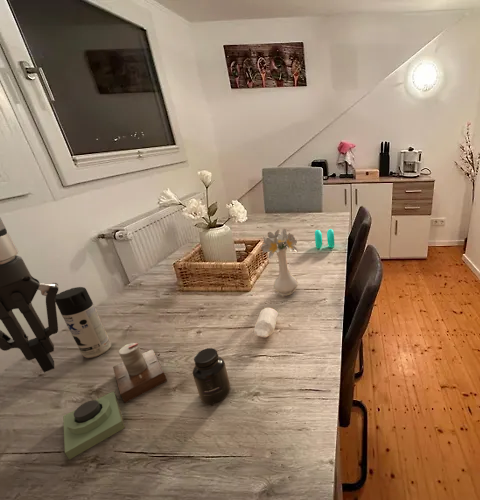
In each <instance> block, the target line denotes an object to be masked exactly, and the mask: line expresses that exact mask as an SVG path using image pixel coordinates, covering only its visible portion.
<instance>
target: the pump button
mask: <svg viewBox="0 0 480 500" xmlns="http://www.w3.org/2000/svg"><path fill="white" fill-rule="evenodd" d="M100 411H101V406H100V405H99V403H98V401H96V399H92V400H88V401H86V402H84V403H82V404H81V405H79V406H78V407H77V408H76V409H75V412H74V417H75V419H76V420H77V422H79V423H83V422H87V421H88V420H90V419H92V418H94V417H95V416H96V415H97V414H98V413H99V412H100Z"/></svg>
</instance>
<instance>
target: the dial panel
mask: <svg viewBox="0 0 480 500" xmlns="http://www.w3.org/2000/svg"><path fill="white" fill-rule="evenodd" d="M142 354H143V357H144V359H145V361H146V364H147V368H146V369H145V370H144V371H143V372H141V373H140V374H137V375H129V374H128V372H127V369H126V367H125V365H124V363H123V362H120V363H119V364H116V365H114V366H112V369H113V373H114V376H115V380H116V382H117V387H118V391H119V394H120V397H121V399H122V401H123V403H124V404H126V403H128V402H130V401H132V400H134V399H136V398H138V397H140V396H141V395H143V394H145V393H147V392H149V391H151V390H152V389H155V388H156V387H159V386H160V385H161V384H164V383H166V382H167V381H168V379H167V377H166V374H165V372H164V370H163V367H162V365H161V362H160V361H159V359H158V357H157V355H156V353H155V351H154V349H153V348H152V349H149V350H147V351H145V352H142Z"/></svg>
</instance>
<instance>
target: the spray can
mask: <svg viewBox="0 0 480 500" xmlns="http://www.w3.org/2000/svg"><path fill="white" fill-rule="evenodd" d="M55 302H56V307H57V309H58V311H59V312H60V314H61V316H62V319H63V320H64V323H65V324H66V326H67V328H68V330H69V332H70V334H71V336H72V338H73V340H74V341H75V344H76V345H77V348H78V349H79V352H80V353H81V355H82V356H83V357H84V358H86V359H94V358H97V357H99V356H102V355H103V354H105V353H107V352H108V351H109V350H110V349H111V347H112V342H111V340H110V336H108V333H107V331H106V329H105V327H104V324H103V322H102V320H101V318H100V316H99V314H98V311H97V309H96V306H95V305H94V302H93V300H92V298H91V296H90V294H89V292H88V289H87V288H86V287H83V286H76V287H72V288H69V289H66V290H63V291H61V292H59V293H57V295H56V297H55Z"/></svg>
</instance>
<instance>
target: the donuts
mask: <svg viewBox="0 0 480 500" xmlns="http://www.w3.org/2000/svg"><path fill="white" fill-rule="evenodd" d="M326 240H327V245H328V247H329V248H334V247H335V231H334V229H332V228H329V229H328V230H327V232H326ZM314 242H315V247H316V248H317V249H321V248H322V246H323V233H322V231H321V230H320V229H316V230H314Z"/></svg>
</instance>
